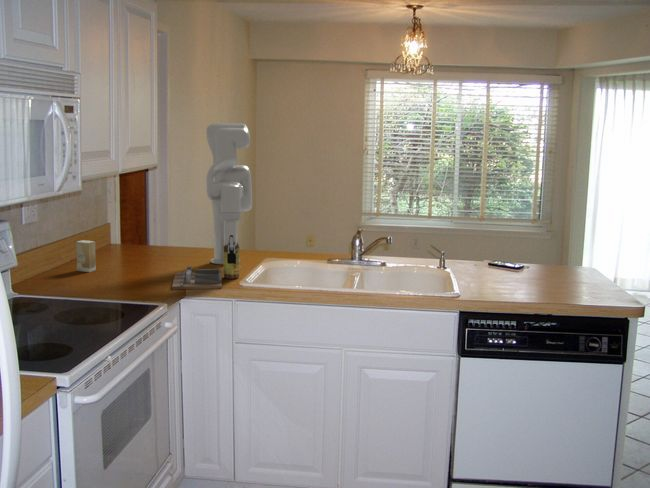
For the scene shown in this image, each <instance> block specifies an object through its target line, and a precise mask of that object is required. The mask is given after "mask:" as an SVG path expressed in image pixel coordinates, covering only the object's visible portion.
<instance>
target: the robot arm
mask: <svg viewBox="0 0 650 488" xmlns="http://www.w3.org/2000/svg"><path fill="white" fill-rule="evenodd" d="M205 130H206V132H205V133H206V140H207V143H208V146H209V149H210V151H211V154H212V160H213V161H212V163H213V164H212V165H211V166H210V168H209V169H208V171H207V174H206V181H205V183H206V184H205V185H206V194H207V198H208V200H210V201H211V206H212V207H211V208H212V213H213V243H214V244H213V247H214V248H213V250H214V251H213V252H214V253H213V256H214V257H212V258H210V263H212V264H213V265H214V264H215V265H222V266H223V251H224V246H226V245H228V253H227V263H228V264H235V263H236V253H235V246H236V245H237V242H238V227H239V225H238V222H240V221H241V218H242V217H241V216H242V215H241V212H249V211H251V210H252V208H253V188H252V187H253V186H252V173H251V170H250V168H249V166H247V165H243V164H237V163H238V156H237V155H238V154H237V149H248V148H249V147H250V145H251V135H250V134H251V133H250V130H249V128H248V126H247V125H246V124H245V123H243V122H242V123H241V122H240V123H239V122H237V123H236V122H235V123H233V122H231V123H230V122H215V123H211V124H209V125H208V126H207V127H206V129H205ZM229 244H230V245H229ZM233 244H234V245H233ZM229 247H230V248H229ZM240 262H241V258H239V263H240Z"/></svg>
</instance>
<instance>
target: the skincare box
mask: <svg viewBox="0 0 650 488" xmlns="http://www.w3.org/2000/svg"><path fill="white" fill-rule="evenodd" d="M75 244H76V271H77V272H83V273H85V272H86V273H91V272H95V271H97V269H96V268H97V267H96V265H97V263H96V262H97V260H96V258H97V257H96V241H92V240H85V239H82V240H78V241H76V242H75Z"/></svg>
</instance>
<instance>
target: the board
mask: <svg viewBox="0 0 650 488" xmlns="http://www.w3.org/2000/svg"><path fill="white" fill-rule="evenodd" d="M186 273H187V270H184V271H180V272H179V271H177V272H175V273H174V278H173V281H172V284H171V285H172V286H171V290H207V289H208V290H209V289H210V290H211V289H222V288H223V287H222V286H223V284H222V277H223V276H222V268H208V269H207V268H206V269H205V268H204V269H203V268H202V269H194V271H191V275H192V277H191V283H187V282H186Z"/></svg>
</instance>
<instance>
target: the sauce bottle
mask: <svg viewBox="0 0 650 488" xmlns="http://www.w3.org/2000/svg"><path fill="white" fill-rule="evenodd" d="M229 245H230V244H229ZM233 245H234V244H233ZM229 248H230V247H229ZM227 253H228V245H226V246H224V251H223V265H222V266H223V269H222V270H223V277H224V279H227V280H228V279H230V280H233V279H238V278H239V277H240V262H239V259H240V246H239V242H238V241H237V245H236V246H235V253H236V263H235V264H228V263H227Z"/></svg>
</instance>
